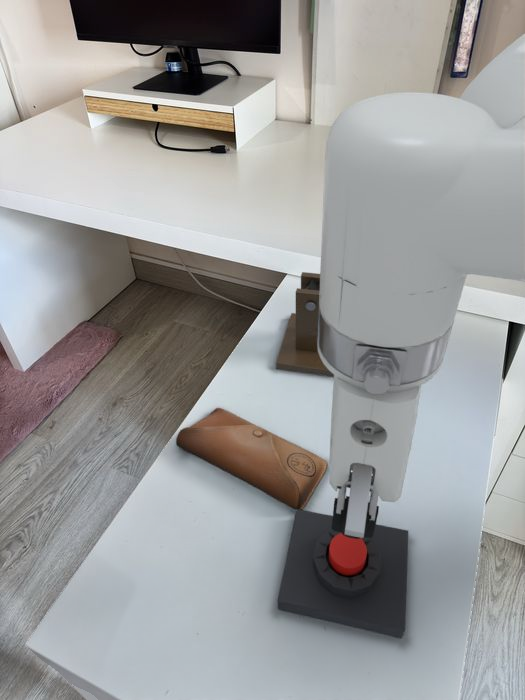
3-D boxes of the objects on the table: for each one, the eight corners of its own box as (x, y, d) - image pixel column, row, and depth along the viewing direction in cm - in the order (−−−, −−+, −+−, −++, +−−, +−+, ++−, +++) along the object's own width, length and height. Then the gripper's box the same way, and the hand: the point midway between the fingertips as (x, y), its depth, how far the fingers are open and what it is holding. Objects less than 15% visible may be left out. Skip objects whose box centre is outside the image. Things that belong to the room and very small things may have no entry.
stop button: (366, 544, 51) (368, 536, 50) (363, 579, 48) (365, 571, 47) (331, 537, 52) (332, 528, 50) (326, 571, 49) (326, 563, 48)
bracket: (346, 324, 82) (351, 262, 74) (336, 377, 73) (341, 313, 65) (291, 318, 83) (291, 257, 75) (275, 368, 75) (273, 305, 67)
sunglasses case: (332, 459, 62) (321, 451, 56) (309, 513, 61) (295, 511, 55) (214, 404, 69) (193, 392, 64) (191, 451, 68) (167, 444, 62)
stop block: (405, 540, 55) (411, 521, 52) (401, 639, 48) (408, 623, 45) (296, 518, 57) (296, 499, 54) (277, 609, 50) (276, 593, 47)
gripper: (453, 460, 23) (398, 611, 35) (445, 256, 35) (406, 420, 47) (290, 433, 24) (292, 587, 37) (337, 246, 37) (326, 408, 49)
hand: (356, 492), depth 42 cm, fingers open, 6 cm apart
